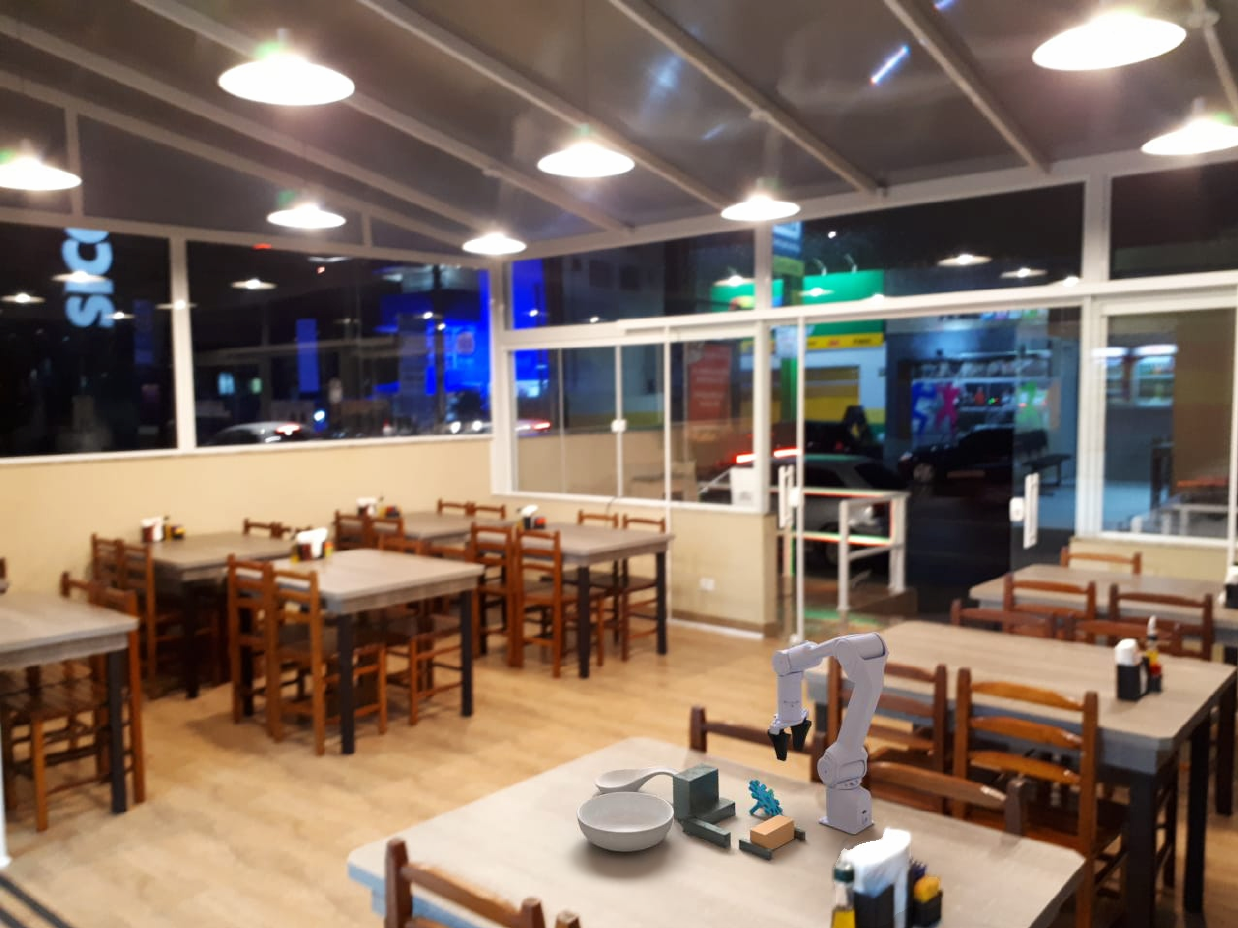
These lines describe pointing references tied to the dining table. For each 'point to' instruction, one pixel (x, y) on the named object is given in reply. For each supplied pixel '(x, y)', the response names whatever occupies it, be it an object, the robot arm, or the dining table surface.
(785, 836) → the press ram
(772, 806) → the gear
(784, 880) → the dining table surface
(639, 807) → the serving bowl
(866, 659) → the robot arm
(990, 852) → the dining table surface
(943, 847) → the dining table surface
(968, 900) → the dining table surface
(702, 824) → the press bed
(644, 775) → the spoon rest
